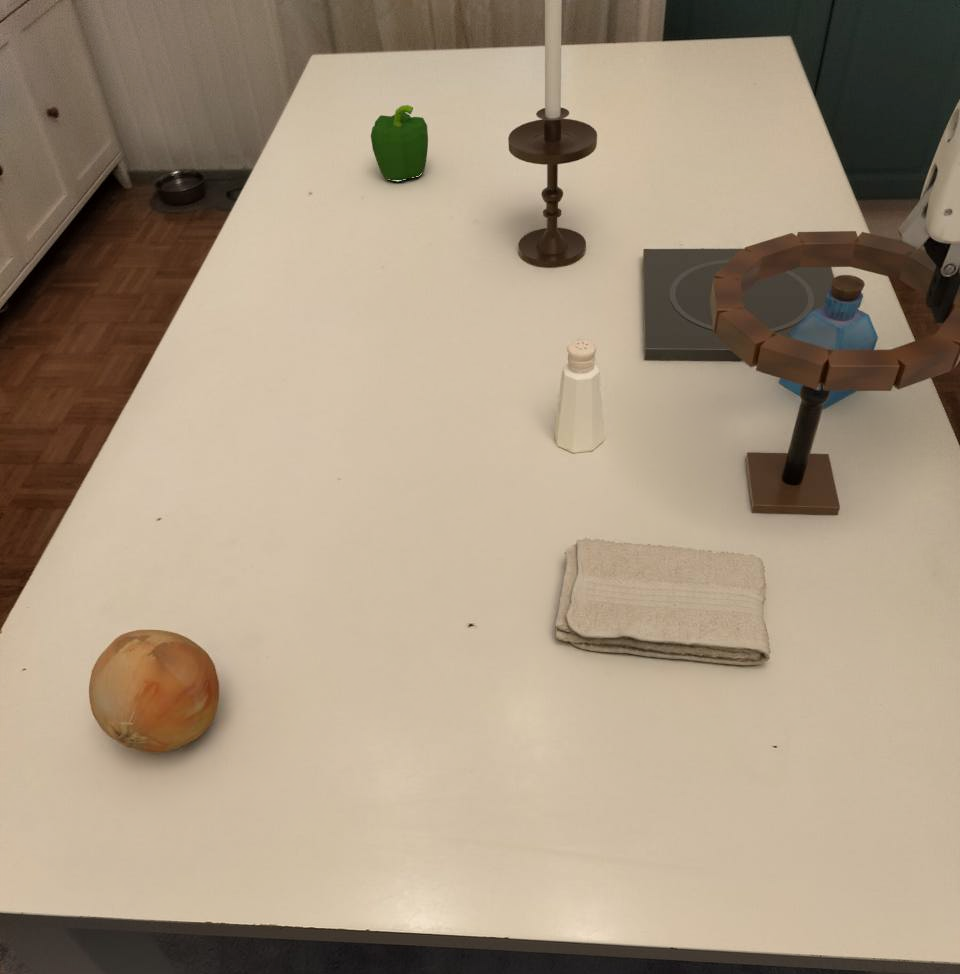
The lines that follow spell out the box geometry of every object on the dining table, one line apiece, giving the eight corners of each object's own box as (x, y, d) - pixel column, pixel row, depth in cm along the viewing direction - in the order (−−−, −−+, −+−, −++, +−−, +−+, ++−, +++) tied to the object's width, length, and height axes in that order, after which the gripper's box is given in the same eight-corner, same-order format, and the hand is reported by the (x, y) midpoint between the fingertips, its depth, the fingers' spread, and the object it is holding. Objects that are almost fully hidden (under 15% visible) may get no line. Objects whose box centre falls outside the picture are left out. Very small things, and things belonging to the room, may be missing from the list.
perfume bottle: (862, 388, 99) (894, 285, 90) (822, 409, 97) (851, 306, 88) (818, 362, 103) (845, 260, 94) (779, 383, 101) (802, 281, 92)
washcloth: (566, 554, 86) (566, 530, 83) (762, 569, 83) (769, 544, 81) (552, 652, 78) (552, 628, 76) (767, 671, 76) (774, 647, 73)
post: (826, 461, 92) (858, 354, 83) (837, 515, 87) (873, 408, 78) (745, 459, 93) (767, 353, 83) (751, 513, 88) (776, 406, 78)
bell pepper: (365, 179, 140) (354, 108, 132) (402, 159, 143) (393, 89, 136) (404, 193, 136) (395, 121, 128) (441, 172, 140) (435, 101, 132)
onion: (101, 779, 73) (48, 706, 65) (131, 680, 79) (86, 602, 71) (221, 775, 72) (182, 701, 64) (242, 675, 79) (209, 597, 71)
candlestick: (495, 251, 123) (480, -69, 96) (553, 222, 127) (555, -92, 100) (550, 280, 118) (552, -51, 91) (609, 249, 122) (627, -76, 95)
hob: (823, 259, 117) (826, 247, 116) (851, 362, 103) (854, 349, 101) (642, 259, 120) (643, 247, 118) (644, 360, 105) (645, 347, 104)
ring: (941, 253, 81) (949, 229, 80) (1000, 391, 68) (1011, 366, 67) (705, 256, 84) (707, 232, 82) (719, 390, 71) (723, 365, 69)
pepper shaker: (598, 457, 94) (603, 365, 86) (547, 450, 96) (547, 358, 87) (609, 425, 98) (615, 333, 89) (560, 419, 99) (561, 327, 90)
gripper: (933, 87, 59) (860, 340, 73) (1200, 78, 57) (1073, 339, 71) (910, 45, 64) (846, 290, 78) (1156, 36, 62) (1045, 289, 76)
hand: (955, 312), depth 75 cm, fingers closed on ring, 2 cm apart
